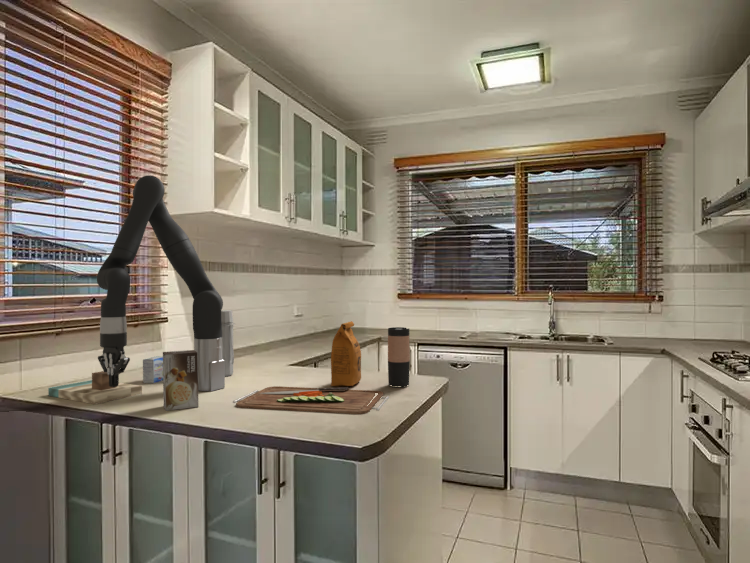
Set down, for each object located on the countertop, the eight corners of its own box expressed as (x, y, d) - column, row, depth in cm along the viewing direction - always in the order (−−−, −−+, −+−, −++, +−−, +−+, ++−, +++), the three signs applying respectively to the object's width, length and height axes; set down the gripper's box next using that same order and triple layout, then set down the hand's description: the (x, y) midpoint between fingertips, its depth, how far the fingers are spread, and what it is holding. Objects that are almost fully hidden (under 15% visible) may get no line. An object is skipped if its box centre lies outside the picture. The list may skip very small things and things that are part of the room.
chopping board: (223, 408, 149) (223, 398, 149) (262, 389, 175) (262, 380, 175) (374, 417, 140) (374, 406, 140) (392, 395, 166) (392, 386, 166)
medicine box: (153, 383, 183) (153, 359, 183) (142, 383, 184) (142, 359, 184) (166, 379, 191) (166, 356, 191) (156, 379, 192) (156, 355, 192)
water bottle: (209, 376, 197) (209, 311, 197) (225, 372, 204) (225, 310, 203) (224, 378, 192) (224, 311, 192) (241, 375, 198) (241, 310, 198)
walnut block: (116, 387, 164) (116, 371, 164) (101, 390, 160) (101, 374, 160) (106, 385, 167) (106, 370, 167) (91, 388, 162) (91, 373, 162)
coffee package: (365, 381, 185) (365, 321, 185) (353, 388, 173) (353, 324, 173) (340, 380, 188) (340, 320, 188) (326, 387, 176) (326, 323, 176)
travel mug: (384, 386, 177) (384, 328, 177) (392, 382, 184) (392, 326, 184) (405, 388, 174) (405, 329, 174) (412, 384, 181) (412, 327, 181)
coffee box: (195, 402, 154) (195, 349, 154) (198, 407, 149) (198, 352, 149) (162, 406, 150) (162, 351, 150) (164, 411, 144) (164, 354, 144)
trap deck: (141, 393, 166) (141, 386, 166) (94, 404, 152) (94, 395, 152) (96, 386, 178) (96, 379, 178) (48, 395, 164) (48, 387, 164)
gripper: (138, 331, 161) (138, 386, 161) (111, 329, 167) (111, 382, 167) (116, 333, 154) (116, 391, 154) (88, 331, 160) (89, 386, 160)
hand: (113, 386), depth 161 cm, fingers closed
